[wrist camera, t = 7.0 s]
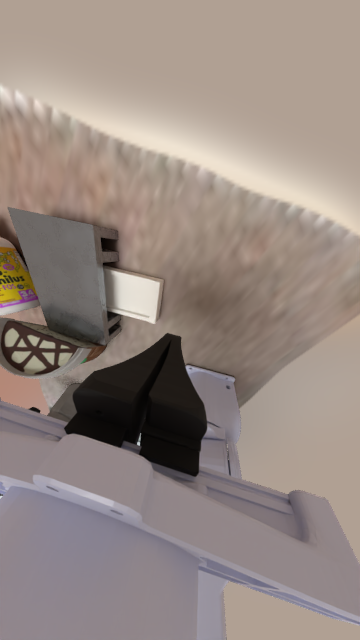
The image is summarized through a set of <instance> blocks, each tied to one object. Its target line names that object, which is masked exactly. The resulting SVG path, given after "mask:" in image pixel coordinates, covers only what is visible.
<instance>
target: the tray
mask: <svg viewBox="0 0 360 640" xmlns="http://www.w3.org/2000/svg"><path fill="white" fill-rule="evenodd" d="M103 273H104V285H105V296H106V308H107V311H110V312H114V313H118V314H122V315H126V316H129V317H133V318H137V319H141V320H145V321H149V322H150V323H153V324H155V323H156V322H157V320H158V319H159V315H160V307H161V299H162V292H163V284H164V280H163V279H159V278H155V277H151V276H147V275H142V274H138V273H134V272H130V271H125V270H121V269H117V268H113V267H109V266H104V265H103Z"/></svg>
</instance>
